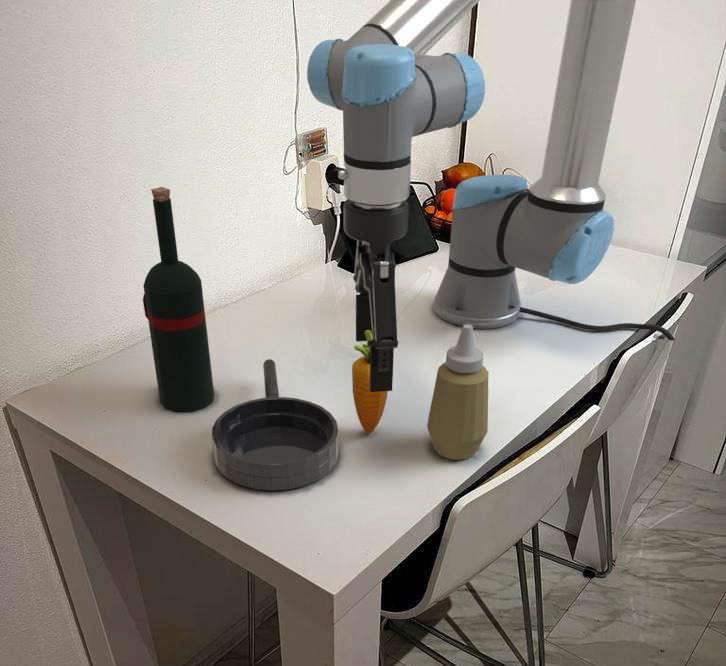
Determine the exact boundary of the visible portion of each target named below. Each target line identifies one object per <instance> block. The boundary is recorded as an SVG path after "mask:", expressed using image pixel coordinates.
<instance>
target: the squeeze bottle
mask: <svg viewBox="0 0 726 666" xmlns="http://www.w3.org/2000/svg"><path fill="white" fill-rule="evenodd" d="M484 356H485V355H484V353H483V350H481V349H480V348H477V347H476V341H475V335H474V328H473V326H472V325H469V324H465V325H463V326H462V328H461V331H460V334H459V337H458V340H457V343H456V345H454V346H451V347H450V348H448V349H447V350H446V356H445V362H443V363H442V364H441V365H440V366H439V367H437V372H436V378H435V382H434V387H433V392H432V398H431V403H430V408H429V413H428V418H427V425H426V428H427V430H428V434H429V437H430V441H431V444H432V447H433V450H434V451H435V453H437V454H438V455H439V456H440V457H443V458H445V459H449V460H454V461H455V460H456V461H461V460H467V459H469V458H472V457H473V456H475V455H476V454H477V452H478V450H479V448H480V446H481V444H482V443H483V441H484V439H485V437H486V435H487V433H488V427H489V426H488V425H489V421H488V420H489V370H488V369H487V368H486V367H485V366H484V365H483V364H484Z"/></svg>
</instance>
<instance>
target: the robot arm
mask: <svg viewBox="0 0 726 666" xmlns="http://www.w3.org/2000/svg"><path fill="white" fill-rule="evenodd" d="M480 1H481V0H389V1H388V2H387V3H386V4H385V5H384V6H382V7H381V9H379V10H378V11H377V13H375V14H374V15H373V16H372V17H371V18H370V19H369V20H368V21H367V22H366V23H365V24H364V25H362V26H361V27H360V28H359V29H358V30H357V31H356V32H355V33H354V34H353V35H351V36H350V37H349V38H348V39H346V40H343V39H342V38H334V39H325V40H323V41H321V42H319V43H318V44H317V45H316V46H315V47H314V49H313V50H312V52H311V54H310V56H309V59H308V63H307V68H306V69H307V70H306V77H307V79H306V80H307V83H308V86H309V91H310V92H311V94H312V96H313V97H314V98H315V99H316V100H317V101H318V102H319V103H320V104H323V105H325V106H328V107H330V108H334V109H337V110H338V111H342V120H343V121H342V127H343V128H342V129H343V167H344V168H345V169H341V170H339V171H338V172H337V174H338V176H337V177H338V178H339V179H340V180H343V195H344V197H345V198H346V199H345V201H344V202H343V232H344V234H345V235H346V236H347V237H349V238H350V239H351V240H354V241H356V248H355V249H356V251H355V262H354V270H353V271H354V273H353V276H352V280H353V281H354V283H355V287H354V290H355V292H356V294H355V341H356V342H366V345H367V347H368V348H369V347H371V348H370V392H382V391H388V392H392V391H393V383H394V382H393V380H394V378H393V377H394V352H395V349H397V348H398V347H399V340H398V327H397V326H398V322H397V301H396V300H397V298H396V267H397V263H396V261H395V255H394V252H393V251H391V243H392V242H394V241H398V240H400V239H402V238H403V237H405V236H406V235H407V233H408V230H409V229H408V228H409V208H410V207H409V203H408V201H407V199H408V198H409V197H410V196H411V195H410V193H411V192H410V191H411V175H412V174H411V173H412V159H411V157H412V156H411V155H412V142H413V141H412V140H413V138H414V137H418V136H420V135H424V134H428V133H432V132H436V131H440V130H444V129H451V128H455V127H456V126H459V124H461V123H464V122H467V121H469V120H471V119H472V118H474V117H475V116H476V114H477V113H478V112H479V111H480V109H481V107H482V104H483V102H484V99H485V95H486V94H485V93H486V81H485V75H484V73H483V70H482V68H481V66H480V65H479V63H478V62H477V61H476V60H475V59H474V58H473V57H472V56H470V55H469V54H466V53H462V52H457V53H456V52H455V53H452V52H444V53H443V54H441V55H429V54H427V53H428V52H429V51H430V50H431V49H432V48H433V47H434V46H435V45H436V44H437V43H438V42H439V41H440V40H441V39H442V38H443V37H444V36H445V35H446V34H448V33H449V31H450V30H452V28H453V27H454V26H455V25H457V24H458V23H459V22H460V21H461V20H462V19H463V18H464V17H465V16H466V15H467V14H468V13H469V12H470V11H471V10H472V9H473V8H474V7H475V6H476V5H477V4H478V3H479V2H480ZM636 2H637V0H570V1H569V6H568V7H569V8H568V13H567V19H566V25H565V30H564V31H565V32H564V37H563V44H562V49H561V55H560V61H559V67H558V72H557V78H556V85H555V86H556V87H555V91H554V97H553V101H552V102H553V103H552V109H551V115H550V120H549V121H550V122H549V126H548V131H547V132H548V133H547V139H546V144H545V151H544V157H543V163H542V169H541V173H540V176H539V178H538V179H537V180H536V181H534V182H533V183H532V184H530V186H529V185H528V181H527V179H526V178H524V177H523V176H519V175H513V174H487V175H479V176H474V177H470V178H467V179H464V180H462V181H461V182H460V183H458V185H457V186H456V188H455V192H454V198H453V203H452V207H451V211H452V215H451V227H450V237H449V238H450V240H449V251H448V263H447V264H448V265H447V268H446V270H445V273H444V275H443V278H442V280H441V283H440V285H439V287H438V290H437V292H436V295H435V297H434V307H433V309H434V312H435V313H436V315H437V316H438V317H439V318H441V319H442V320H444V321H446V322H448V323H450V324H452V325H456V326H459V327H463V325H465V324H469V325H472V326H473V329H484V330H485V329H487V330H489V329H497V328H502V327H506V326H509V325H511V324H512V323H514V322H517V320H518V319H519V317H520V313H522V314H526V315H529V316H530V315H531V316H535V317H539V318H542V319H546V320H550V321H553V322H557V323H561V324H564V325H567V326H570V327H574V328H578V329H582V330H586V331H594V332H608V331H609V332H610V331H615V330H620V329H634V330H635V329H636V330H637V329H638V330H649V331H650V330H651V331H656V332H658V333H661V334H662V335H664V336H665V337H666V339H668V341H672V342H673V341H675V340H676V339H675V338H674V336H673V335H672V333H671V332H670V331H669V330H667V329H666V328H665V327H663V326H661V325H657V324H648V323H631V322H626V323H625V322H624V323H623V322H622V323H614V324H609V325H592V324H587V323H586V324H585V323H582V322H578V321H574V320H572V319H568V318H564V317H562V316H561V317H560V316H557V315H553V314H549V313H545V312H542V311H539V310H534V309H530V308H527V307H523V306H522V302H521V298H520V291H519V286H518V282H517V276H516V269H519V270H521V271H526V272H528V273H532V274H534V275H537V276H541V277H543V278H546V279H548V280H549V281H551V282H556V281H557V282H561V283H565V284H569V285H575V284H579V283H581V282H584V281H585V280H587V278H589V277H590V276H591V275H592V274H593V273H594V272H595V271H596V269H597V268H598V266H599V265H600V264H601V262H602V260H603V259H604V257H605V255H606V253H607V251H608V249H609V247H610V244H611V241H612V239H613V235H614V231H615V224H614V222H615V220H614V217H613V215H612V214H611V213H609V211H606V210H604V206H605V201H606V197H607V195H606V193H605V191H604V189H602V187H601V185H600V183H599V181H600V176H601V171H602V167H603V161H604V156H605V153H606V147H607V143H608V142H607V141H608V137H609V132H610V129H611V128H610V127H611V124H612V123H611V122H612V118H613V114H614V109H615V104H616V99H617V93H618V89H619V83H620V79H621V74H622V69H623V65H624V60H625V55H626V52H627V51H626V50H627V45H628V40H629V36H630V31H631V26H632V21H633V17H634V11H635V7H636ZM366 330H370V331H371V334H372V337H373V340H372V341H368V342H367V339H366V336H365V331H366Z"/></svg>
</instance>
